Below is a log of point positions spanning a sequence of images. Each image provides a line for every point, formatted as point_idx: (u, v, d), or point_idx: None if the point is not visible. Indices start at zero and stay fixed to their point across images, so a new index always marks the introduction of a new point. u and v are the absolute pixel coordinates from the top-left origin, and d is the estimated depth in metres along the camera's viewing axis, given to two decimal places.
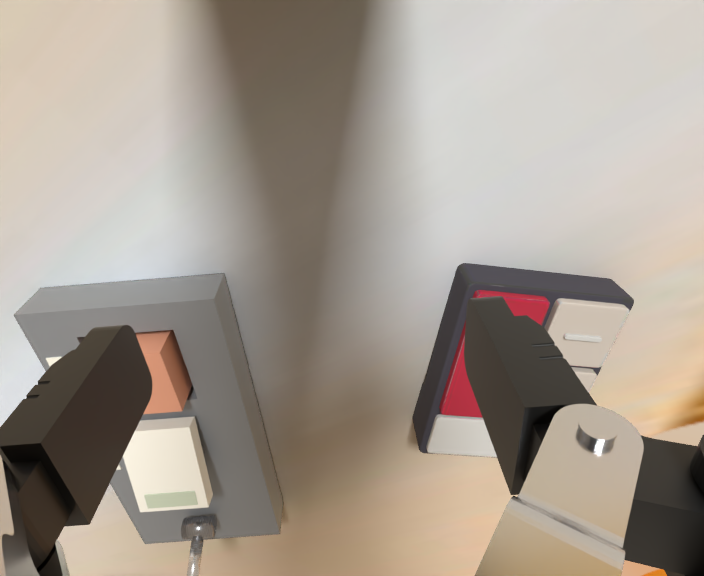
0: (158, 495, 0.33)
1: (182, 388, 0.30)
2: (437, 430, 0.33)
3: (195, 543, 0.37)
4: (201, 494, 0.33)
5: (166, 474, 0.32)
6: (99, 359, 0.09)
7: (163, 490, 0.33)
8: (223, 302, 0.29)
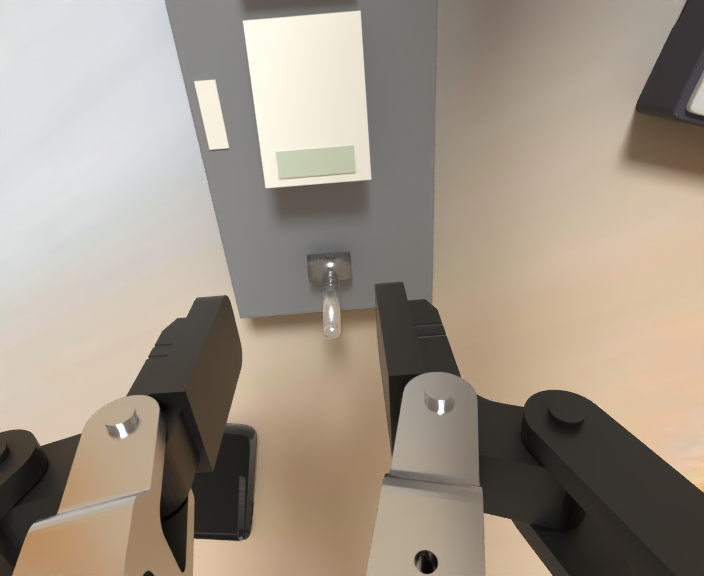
0: (296, 154, 0.21)
1: None
2: None
3: (330, 279, 0.25)
4: (363, 152, 0.21)
5: (313, 110, 0.21)
6: (213, 323, 0.10)
7: (306, 143, 0.21)
8: None
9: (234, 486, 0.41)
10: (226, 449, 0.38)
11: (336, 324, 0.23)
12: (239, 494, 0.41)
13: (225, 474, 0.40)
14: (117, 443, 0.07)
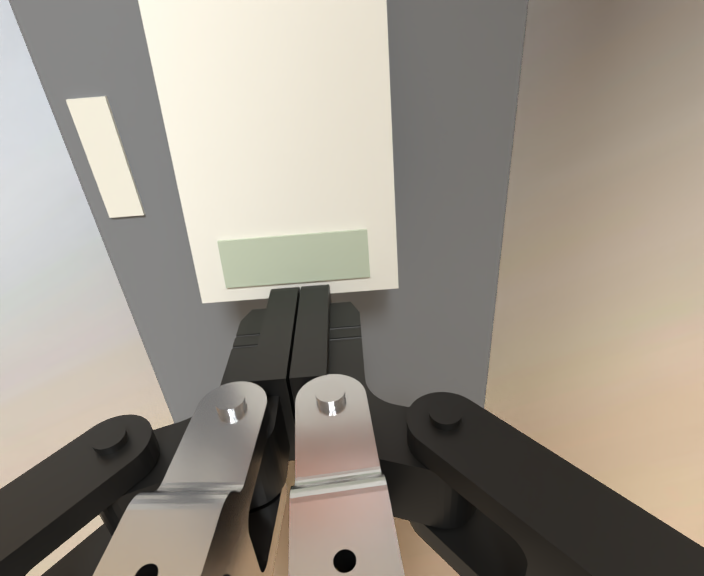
0: (257, 246, 0.11)
1: None
2: None
3: None
4: (385, 241, 0.11)
5: (289, 165, 0.11)
6: (295, 314, 0.10)
7: (275, 225, 0.11)
8: None
9: None
10: None
11: None
12: None
13: None
14: (233, 428, 0.07)
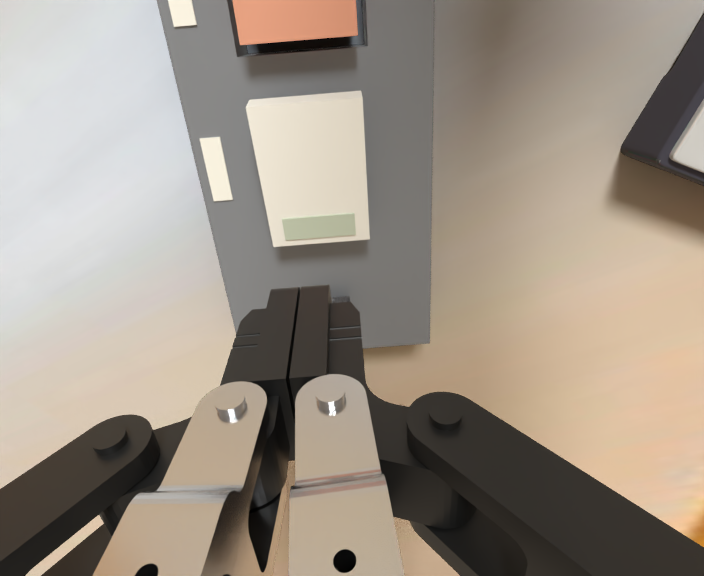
0: (301, 220, 0.23)
1: None
2: None
3: None
4: (363, 217, 0.23)
5: (317, 184, 0.22)
6: (294, 314, 0.10)
7: (309, 211, 0.23)
8: None
9: None
10: None
11: None
12: None
13: None
14: (233, 428, 0.07)
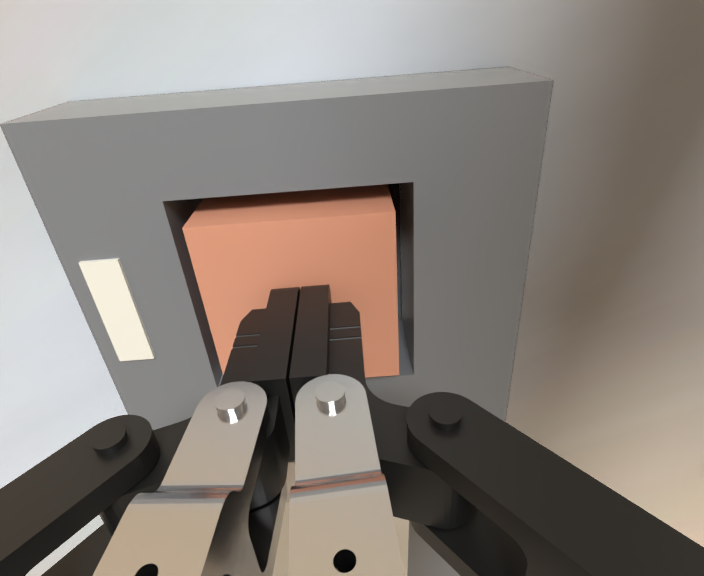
0: None
1: None
2: None
3: None
4: None
5: None
6: (295, 314, 0.10)
7: None
8: None
9: None
10: None
11: None
12: None
13: None
14: (233, 428, 0.07)
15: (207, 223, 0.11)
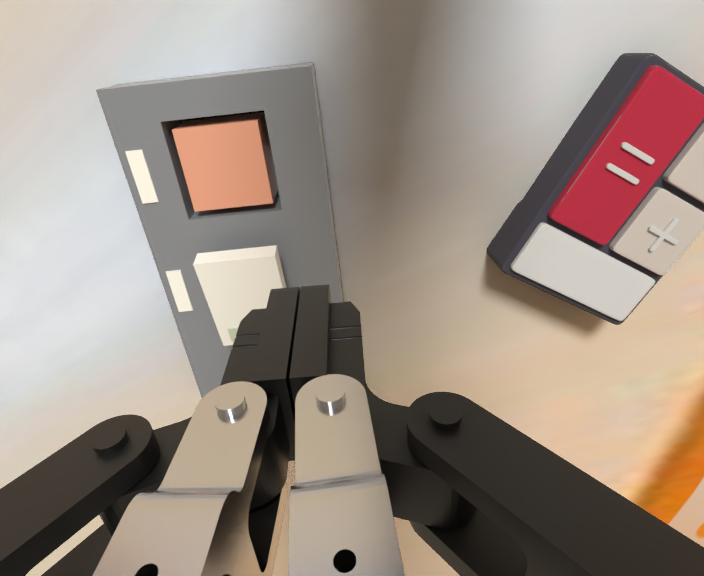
0: None
1: (271, 182, 0.29)
2: (535, 240, 0.30)
3: None
4: None
5: (250, 307, 0.30)
6: (294, 314, 0.10)
7: None
8: (315, 86, 0.27)
9: None
10: None
11: None
12: None
13: None
14: (233, 428, 0.07)
15: (181, 128, 0.27)
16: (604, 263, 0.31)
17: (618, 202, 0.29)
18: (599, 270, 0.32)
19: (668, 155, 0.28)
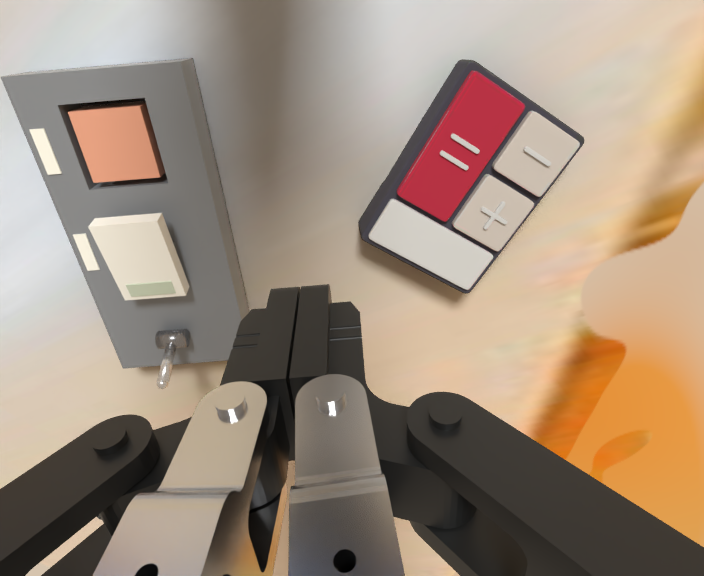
0: (138, 285, 0.37)
1: (160, 159, 0.35)
2: (386, 214, 0.36)
3: (168, 348, 0.39)
4: (177, 283, 0.37)
5: (143, 266, 0.36)
6: (294, 314, 0.10)
7: (142, 280, 0.36)
8: (190, 79, 0.32)
9: None
10: None
11: (164, 380, 0.37)
12: None
13: None
14: (233, 428, 0.07)
15: (76, 111, 0.32)
16: (447, 237, 0.37)
17: (453, 184, 0.35)
18: (444, 243, 0.37)
19: (492, 147, 0.34)
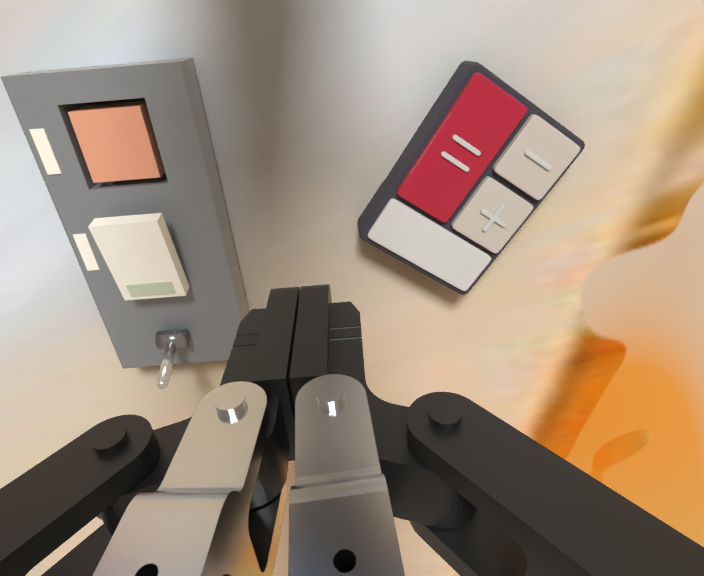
0: (138, 285, 0.37)
1: (160, 159, 0.35)
2: (386, 213, 0.36)
3: (168, 348, 0.39)
4: (177, 283, 0.37)
5: (142, 266, 0.36)
6: (294, 314, 0.10)
7: (142, 280, 0.36)
8: (190, 79, 0.32)
9: None
10: None
11: (164, 379, 0.37)
12: None
13: None
14: (233, 428, 0.07)
15: (76, 110, 0.32)
16: (446, 238, 0.37)
17: (453, 186, 0.35)
18: (442, 244, 0.37)
19: (493, 149, 0.34)
